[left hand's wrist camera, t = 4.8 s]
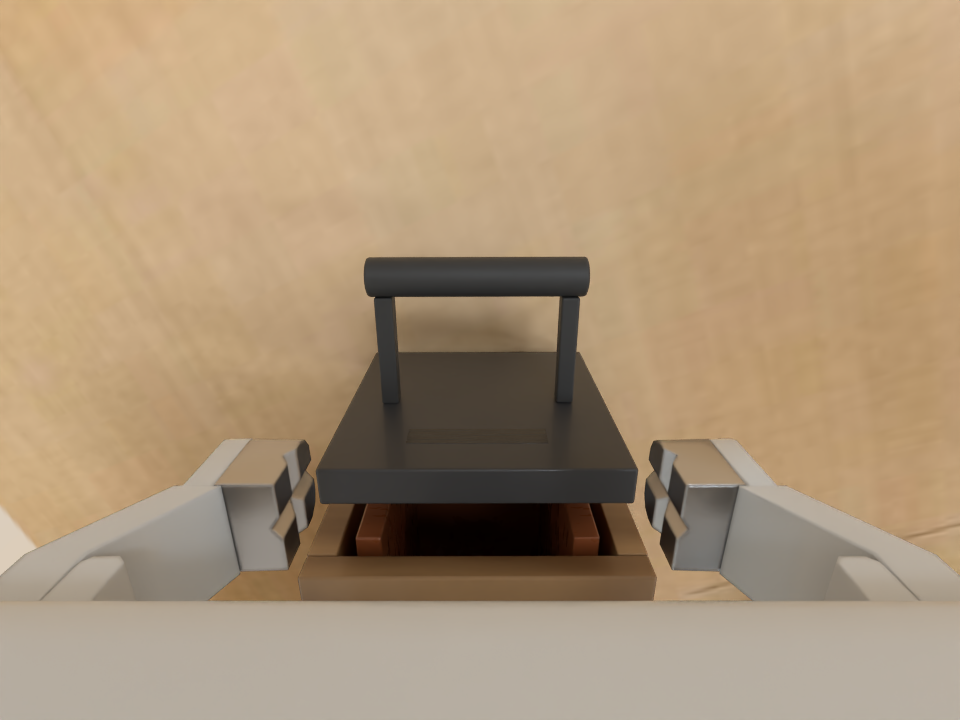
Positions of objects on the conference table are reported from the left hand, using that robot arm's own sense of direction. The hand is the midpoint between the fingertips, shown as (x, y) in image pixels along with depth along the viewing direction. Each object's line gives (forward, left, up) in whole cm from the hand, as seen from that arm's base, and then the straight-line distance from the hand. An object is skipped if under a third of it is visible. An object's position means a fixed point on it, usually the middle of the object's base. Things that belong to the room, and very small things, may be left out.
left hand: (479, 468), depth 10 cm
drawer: (-5, +6, -13) cm, 15 cm away
